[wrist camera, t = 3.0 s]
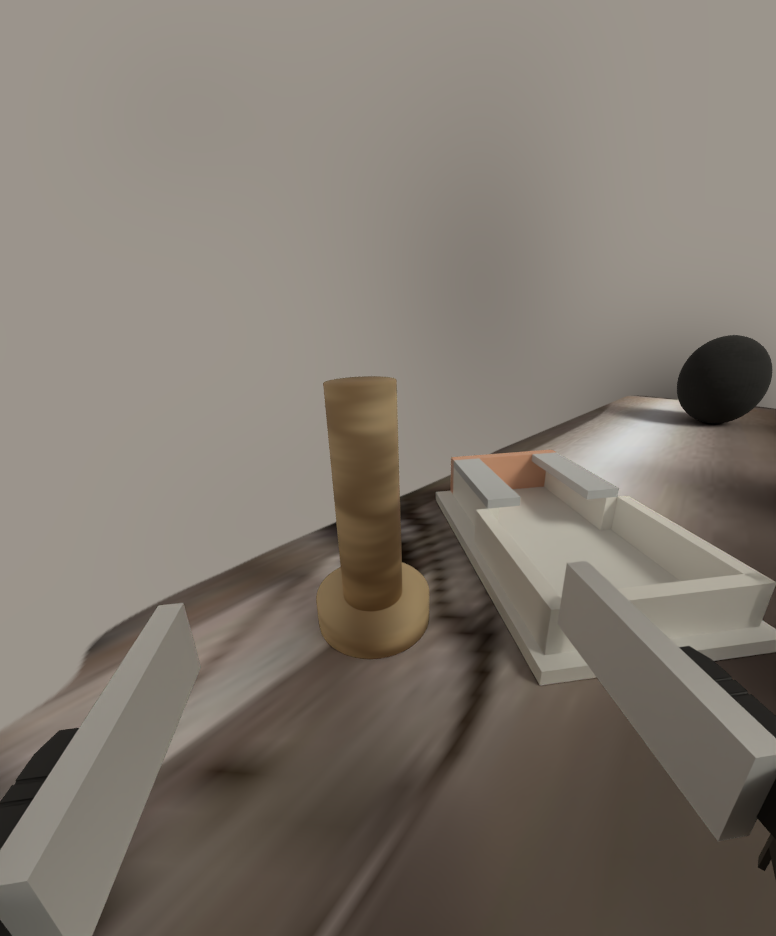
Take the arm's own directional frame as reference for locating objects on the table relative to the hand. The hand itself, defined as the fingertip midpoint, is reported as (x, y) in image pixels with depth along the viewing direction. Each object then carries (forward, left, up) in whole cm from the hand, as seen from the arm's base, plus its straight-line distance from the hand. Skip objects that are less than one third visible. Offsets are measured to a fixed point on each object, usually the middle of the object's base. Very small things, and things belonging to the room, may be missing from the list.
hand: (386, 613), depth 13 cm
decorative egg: (-65, -50, -10) cm, 82 cm away
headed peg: (0, -11, -9) cm, 14 cm away
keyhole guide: (-16, -16, -9) cm, 24 cm away
